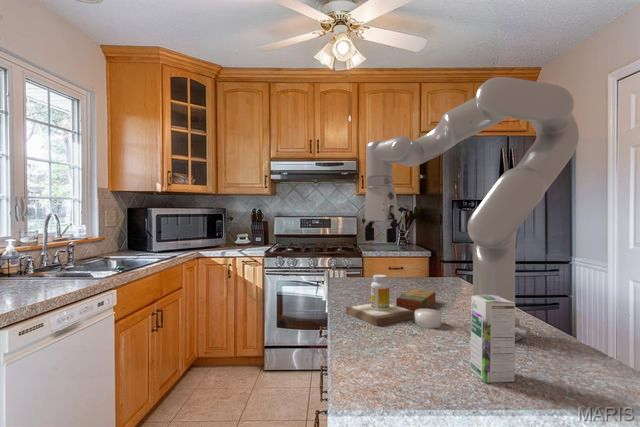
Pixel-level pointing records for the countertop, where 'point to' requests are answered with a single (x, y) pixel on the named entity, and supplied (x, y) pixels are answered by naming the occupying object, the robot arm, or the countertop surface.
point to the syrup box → (493, 338)
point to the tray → (380, 314)
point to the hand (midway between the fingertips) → (380, 241)
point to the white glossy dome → (428, 318)
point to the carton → (416, 299)
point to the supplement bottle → (380, 293)
